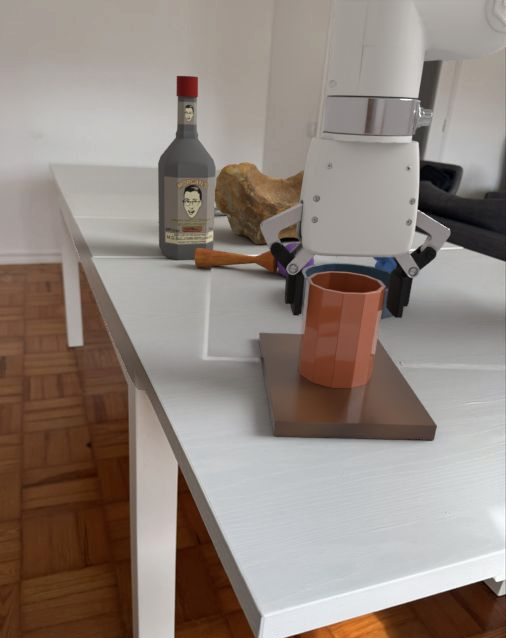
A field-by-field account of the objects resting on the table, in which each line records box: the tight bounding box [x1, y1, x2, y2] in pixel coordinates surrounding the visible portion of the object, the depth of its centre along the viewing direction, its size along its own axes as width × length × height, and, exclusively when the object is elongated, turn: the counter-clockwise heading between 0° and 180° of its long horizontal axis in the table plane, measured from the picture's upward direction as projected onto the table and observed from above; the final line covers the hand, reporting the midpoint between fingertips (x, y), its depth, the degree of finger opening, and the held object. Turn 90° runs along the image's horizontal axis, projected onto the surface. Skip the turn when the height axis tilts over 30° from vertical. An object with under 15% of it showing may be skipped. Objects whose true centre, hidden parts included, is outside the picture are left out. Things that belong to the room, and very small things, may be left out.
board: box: [258, 332, 438, 441], centre depth 56 cm, size 14×20×2 cm
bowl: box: [302, 262, 394, 319], centre depth 79 cm, size 14×14×4 cm
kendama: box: [194, 242, 315, 278], centre depth 92 cm, size 6×6×20 cm
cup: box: [298, 271, 386, 388], centre depth 54 cm, size 7×7×10 cm
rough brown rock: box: [215, 162, 305, 245], centre depth 115 cm, size 23×17×15 cm
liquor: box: [157, 75, 217, 261], centre depth 97 cm, size 9×9×30 cm
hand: (344, 311), depth 53 cm, fingers open, 9 cm apart
